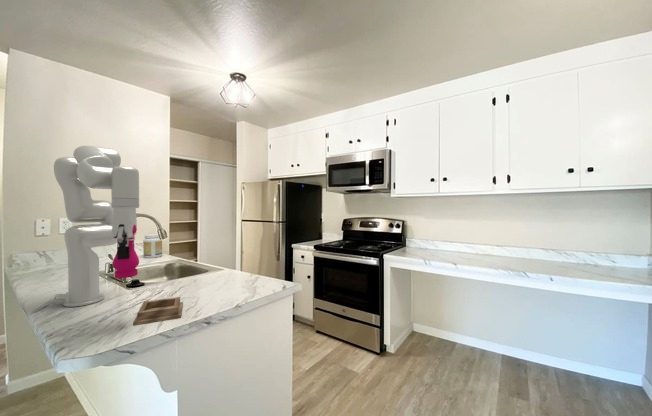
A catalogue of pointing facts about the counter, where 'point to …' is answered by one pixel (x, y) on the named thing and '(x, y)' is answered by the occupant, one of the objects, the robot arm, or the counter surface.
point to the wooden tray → (159, 310)
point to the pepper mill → (127, 261)
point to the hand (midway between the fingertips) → (126, 256)
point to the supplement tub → (152, 246)
